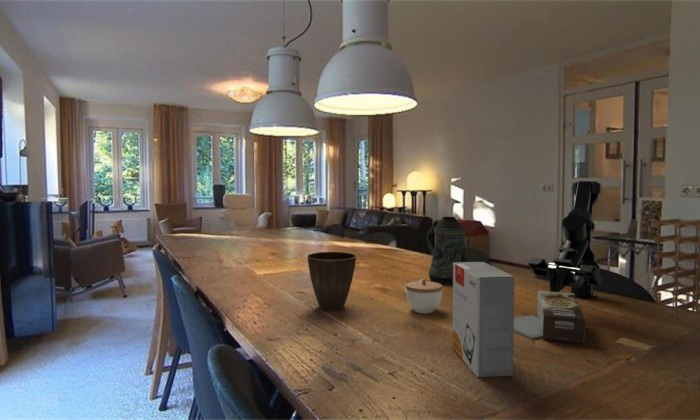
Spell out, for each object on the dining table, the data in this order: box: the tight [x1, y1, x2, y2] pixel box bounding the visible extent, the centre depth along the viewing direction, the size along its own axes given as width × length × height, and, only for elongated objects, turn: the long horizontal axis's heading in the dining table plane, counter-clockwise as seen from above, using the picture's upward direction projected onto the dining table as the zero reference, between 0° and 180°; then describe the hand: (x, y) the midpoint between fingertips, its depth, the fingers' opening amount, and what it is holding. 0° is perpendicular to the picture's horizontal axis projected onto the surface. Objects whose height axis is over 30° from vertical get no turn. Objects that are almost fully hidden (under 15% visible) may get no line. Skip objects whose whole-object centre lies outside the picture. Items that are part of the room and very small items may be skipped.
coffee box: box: [536, 290, 586, 345], centre depth 110 cm, size 9×6×16 cm
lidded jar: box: [405, 278, 443, 314], centre depth 129 cm, size 11×11×9 cm
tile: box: [514, 314, 543, 340], centre depth 114 cm, size 14×14×1 cm
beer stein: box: [426, 216, 469, 286], centre depth 170 cm, size 16×19×25 cm
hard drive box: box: [451, 261, 515, 378], centre depth 91 cm, size 16×8×20 cm, turn 5°
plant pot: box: [306, 251, 357, 311], centre depth 133 cm, size 15×15×16 cm
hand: (552, 294), depth 120 cm, fingers closed
